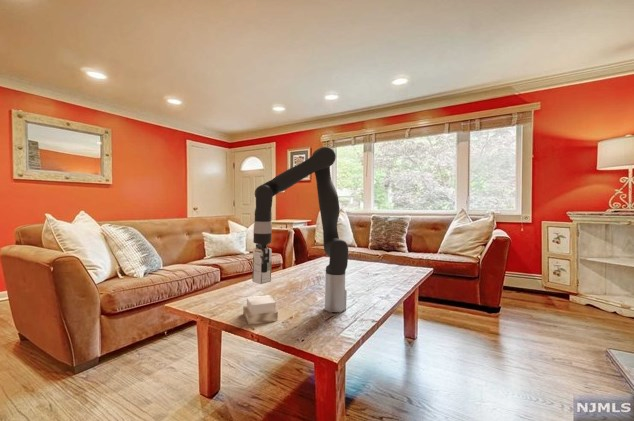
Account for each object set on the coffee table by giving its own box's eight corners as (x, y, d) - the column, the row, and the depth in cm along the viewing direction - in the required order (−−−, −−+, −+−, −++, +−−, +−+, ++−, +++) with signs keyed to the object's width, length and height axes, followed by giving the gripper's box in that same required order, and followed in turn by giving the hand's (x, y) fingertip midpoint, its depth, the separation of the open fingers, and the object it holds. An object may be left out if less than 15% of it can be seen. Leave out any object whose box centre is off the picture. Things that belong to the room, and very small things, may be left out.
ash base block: (269, 311, 129) (270, 302, 129) (277, 321, 118) (277, 312, 118) (243, 315, 124) (243, 306, 124) (248, 326, 113) (248, 316, 113)
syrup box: (262, 279, 125) (263, 246, 125) (271, 281, 121) (272, 248, 121) (252, 281, 121) (252, 248, 120) (260, 284, 117) (261, 249, 116)
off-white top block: (269, 303, 128) (269, 294, 128) (275, 311, 119) (275, 302, 119) (246, 306, 123) (246, 297, 123) (251, 315, 114) (251, 305, 114)
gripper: (276, 233, 115) (275, 273, 116) (266, 230, 128) (266, 266, 129) (257, 234, 112) (257, 275, 113) (250, 230, 125) (249, 267, 126)
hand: (261, 270), depth 121 cm, fingers closed on syrup box, 7 cm apart
